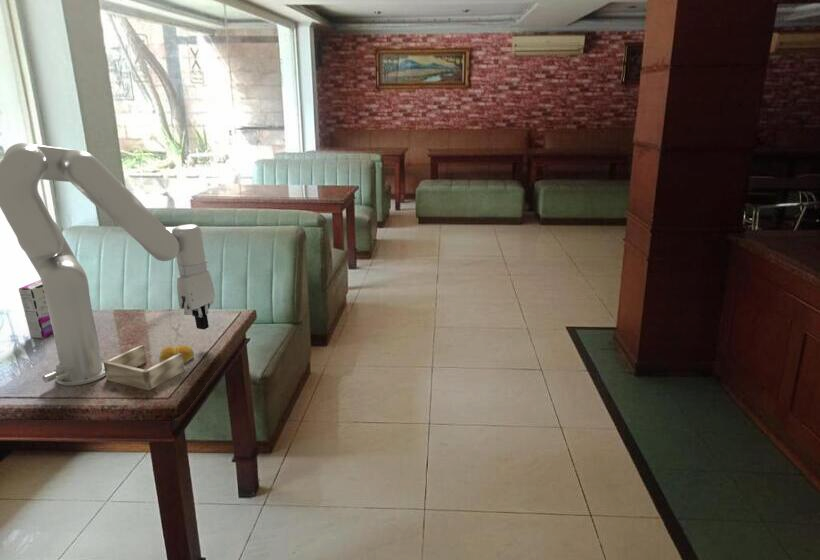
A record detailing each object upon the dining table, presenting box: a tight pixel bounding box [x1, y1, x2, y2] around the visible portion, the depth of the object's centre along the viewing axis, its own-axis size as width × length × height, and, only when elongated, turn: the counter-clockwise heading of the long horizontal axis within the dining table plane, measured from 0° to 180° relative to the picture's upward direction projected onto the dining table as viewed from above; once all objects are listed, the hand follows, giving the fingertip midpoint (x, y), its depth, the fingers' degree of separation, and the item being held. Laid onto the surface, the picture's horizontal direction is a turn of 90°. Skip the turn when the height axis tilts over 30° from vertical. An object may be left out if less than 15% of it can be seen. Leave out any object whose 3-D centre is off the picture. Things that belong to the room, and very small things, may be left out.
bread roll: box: [158, 345, 195, 364], centre depth 162 cm, size 8×9×4 cm
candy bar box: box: [18, 279, 54, 339], centre depth 181 cm, size 11×5×16 cm, turn 170°
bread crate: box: [102, 344, 186, 391], centre depth 152 cm, size 12×15×5 cm
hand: (202, 327), depth 169 cm, fingers closed
